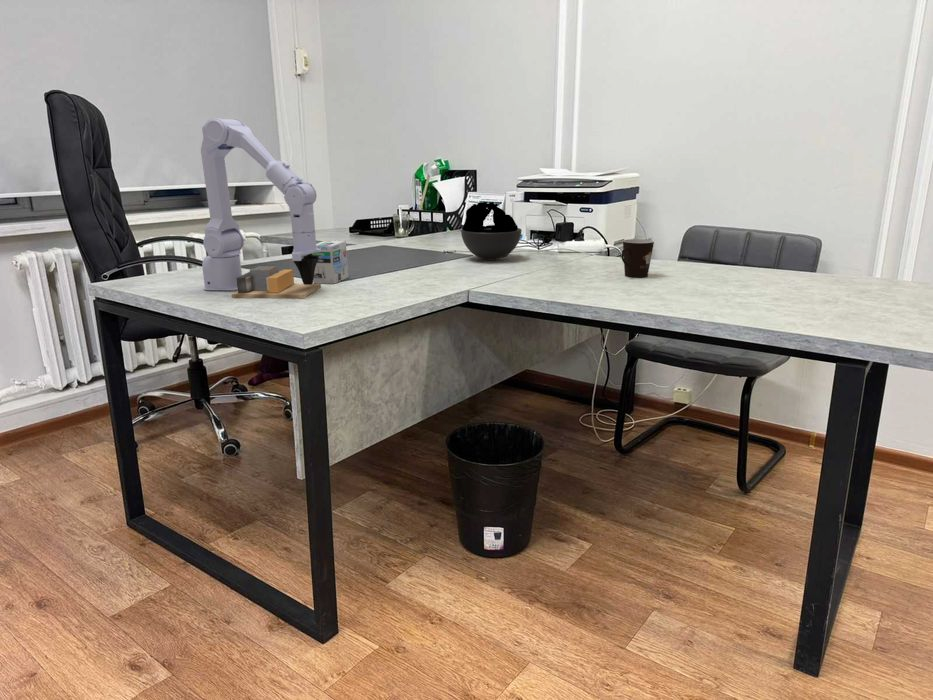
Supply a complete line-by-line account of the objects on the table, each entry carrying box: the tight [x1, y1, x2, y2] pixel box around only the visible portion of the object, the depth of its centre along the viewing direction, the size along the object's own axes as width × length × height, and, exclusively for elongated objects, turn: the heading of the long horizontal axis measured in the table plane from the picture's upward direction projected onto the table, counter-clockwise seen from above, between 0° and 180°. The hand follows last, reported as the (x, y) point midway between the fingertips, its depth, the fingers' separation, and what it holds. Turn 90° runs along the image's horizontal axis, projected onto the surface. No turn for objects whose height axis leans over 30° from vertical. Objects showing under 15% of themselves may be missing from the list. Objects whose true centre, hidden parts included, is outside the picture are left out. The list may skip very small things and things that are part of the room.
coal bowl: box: [460, 201, 522, 261], centre depth 217 cm, size 20×20×19 cm
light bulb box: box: [312, 240, 349, 285], centre depth 187 cm, size 11×7×11 cm, turn 169°
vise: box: [230, 271, 322, 299], centre depth 173 cm, size 19×14×5 cm
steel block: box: [249, 265, 279, 291], centre depth 172 cm, size 5×6×6 cm
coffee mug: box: [620, 238, 655, 279], centre depth 187 cm, size 12×9×10 cm
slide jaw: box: [266, 269, 295, 293], centre depth 173 cm, size 3×12×4 cm, turn 175°
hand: (308, 284), depth 172 cm, fingers closed
